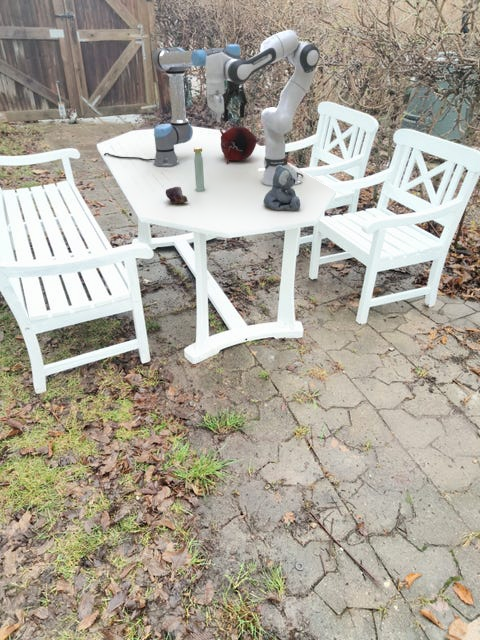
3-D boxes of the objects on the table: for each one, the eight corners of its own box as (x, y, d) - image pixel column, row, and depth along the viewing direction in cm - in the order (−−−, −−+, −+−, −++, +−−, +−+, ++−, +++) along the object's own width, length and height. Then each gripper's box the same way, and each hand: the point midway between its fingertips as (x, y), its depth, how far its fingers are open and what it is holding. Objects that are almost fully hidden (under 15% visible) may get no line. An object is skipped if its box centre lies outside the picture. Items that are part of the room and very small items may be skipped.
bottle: (199, 191, 248) (197, 150, 236) (194, 189, 251) (191, 148, 238) (205, 190, 251) (203, 148, 238) (201, 188, 253) (198, 147, 241)
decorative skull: (217, 132, 306) (217, 129, 282) (251, 124, 305) (253, 121, 281) (224, 164, 313) (224, 164, 289) (257, 157, 312) (260, 156, 288)
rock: (181, 200, 240) (163, 203, 236) (179, 183, 237) (161, 186, 232) (189, 203, 231) (171, 206, 227) (188, 186, 227) (169, 189, 223)
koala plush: (301, 211, 222) (304, 171, 211) (265, 212, 221) (266, 172, 210) (295, 199, 236) (297, 161, 225) (261, 200, 235) (262, 162, 224)
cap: (197, 152, 236) (197, 149, 235) (192, 151, 239) (192, 148, 238) (203, 151, 239) (203, 148, 238) (198, 149, 241) (198, 146, 241)
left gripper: (222, 80, 236) (223, 123, 248) (253, 75, 251) (253, 116, 263) (212, 79, 240) (214, 121, 252) (243, 75, 255) (243, 115, 267)
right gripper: (227, 92, 210) (227, 124, 218) (216, 86, 226) (217, 116, 234) (214, 92, 209) (214, 124, 217) (204, 87, 225) (205, 116, 233)
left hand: (234, 119), depth 258 cm, fingers open, 13 cm apart
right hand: (216, 120), depth 226 cm, fingers open, 8 cm apart
